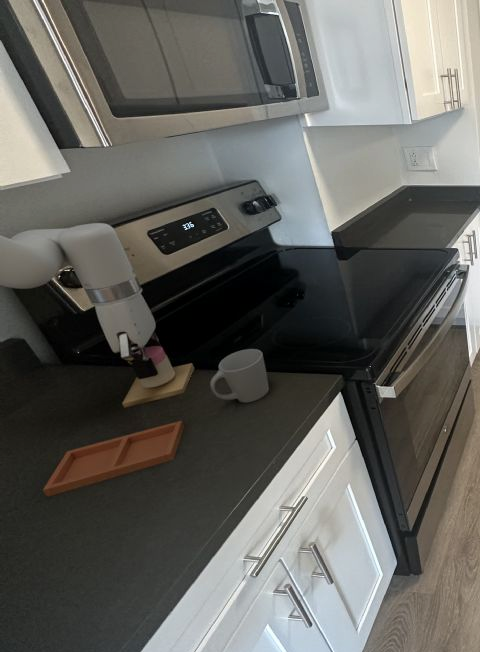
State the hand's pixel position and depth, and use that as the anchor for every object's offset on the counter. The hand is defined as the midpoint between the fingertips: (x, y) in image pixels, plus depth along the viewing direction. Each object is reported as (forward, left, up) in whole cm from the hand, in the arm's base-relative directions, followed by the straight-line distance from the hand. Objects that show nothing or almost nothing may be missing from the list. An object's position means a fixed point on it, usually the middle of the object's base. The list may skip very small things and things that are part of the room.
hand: (152, 367), depth 88 cm
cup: (+17, -12, -5) cm, 21 cm away
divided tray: (-1, -21, -5) cm, 22 cm away
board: (0, 0, -5) cm, 5 cm away
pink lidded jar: (0, 0, -3) cm, 3 cm away
